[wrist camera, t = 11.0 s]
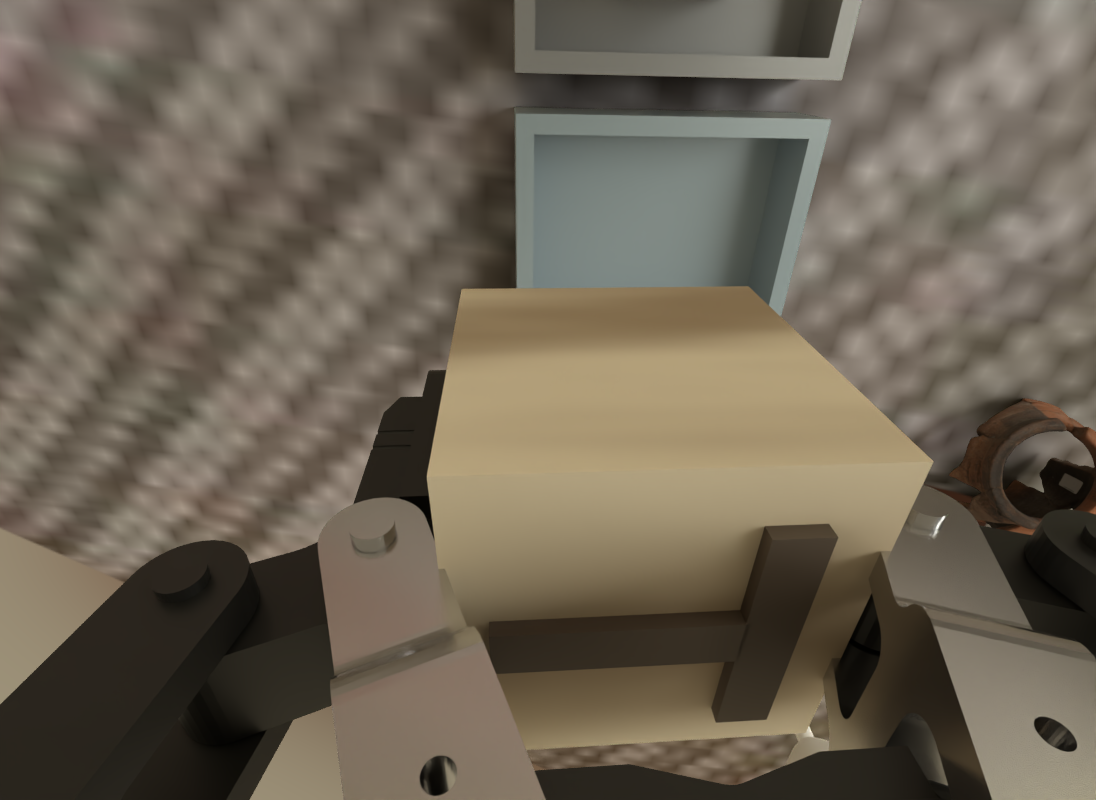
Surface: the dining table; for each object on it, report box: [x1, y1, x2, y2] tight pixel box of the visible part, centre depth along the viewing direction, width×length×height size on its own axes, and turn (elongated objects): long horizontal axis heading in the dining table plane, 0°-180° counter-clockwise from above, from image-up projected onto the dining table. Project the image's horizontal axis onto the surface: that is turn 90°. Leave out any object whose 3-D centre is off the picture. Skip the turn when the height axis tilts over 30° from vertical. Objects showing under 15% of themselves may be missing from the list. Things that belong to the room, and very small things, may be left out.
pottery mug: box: [949, 399, 1096, 535], centre depth 38 cm, size 12×10×8 cm
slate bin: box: [514, 107, 831, 317], centre depth 29 cm, size 11×14×4 cm
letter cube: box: [427, 286, 934, 750], centre depth 9 cm, size 5×5×5 cm
